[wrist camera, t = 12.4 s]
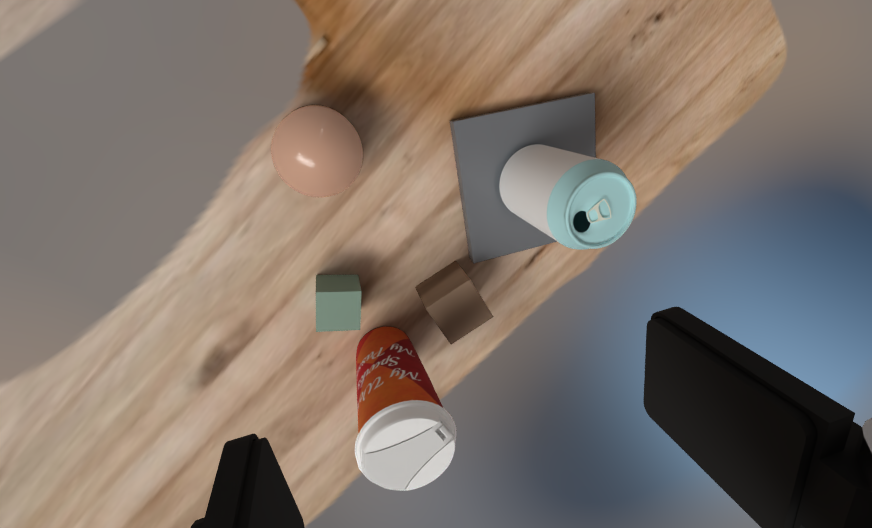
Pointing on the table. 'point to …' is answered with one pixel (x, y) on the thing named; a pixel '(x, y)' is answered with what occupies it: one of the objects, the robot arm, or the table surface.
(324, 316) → the green block
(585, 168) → the can
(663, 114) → the table surface
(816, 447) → the robot arm
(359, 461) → the coffee cup
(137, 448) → the table surface
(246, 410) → the table surface
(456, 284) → the walnut block
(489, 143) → the slate board
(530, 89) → the table surface
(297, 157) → the peach smooth rounded part
